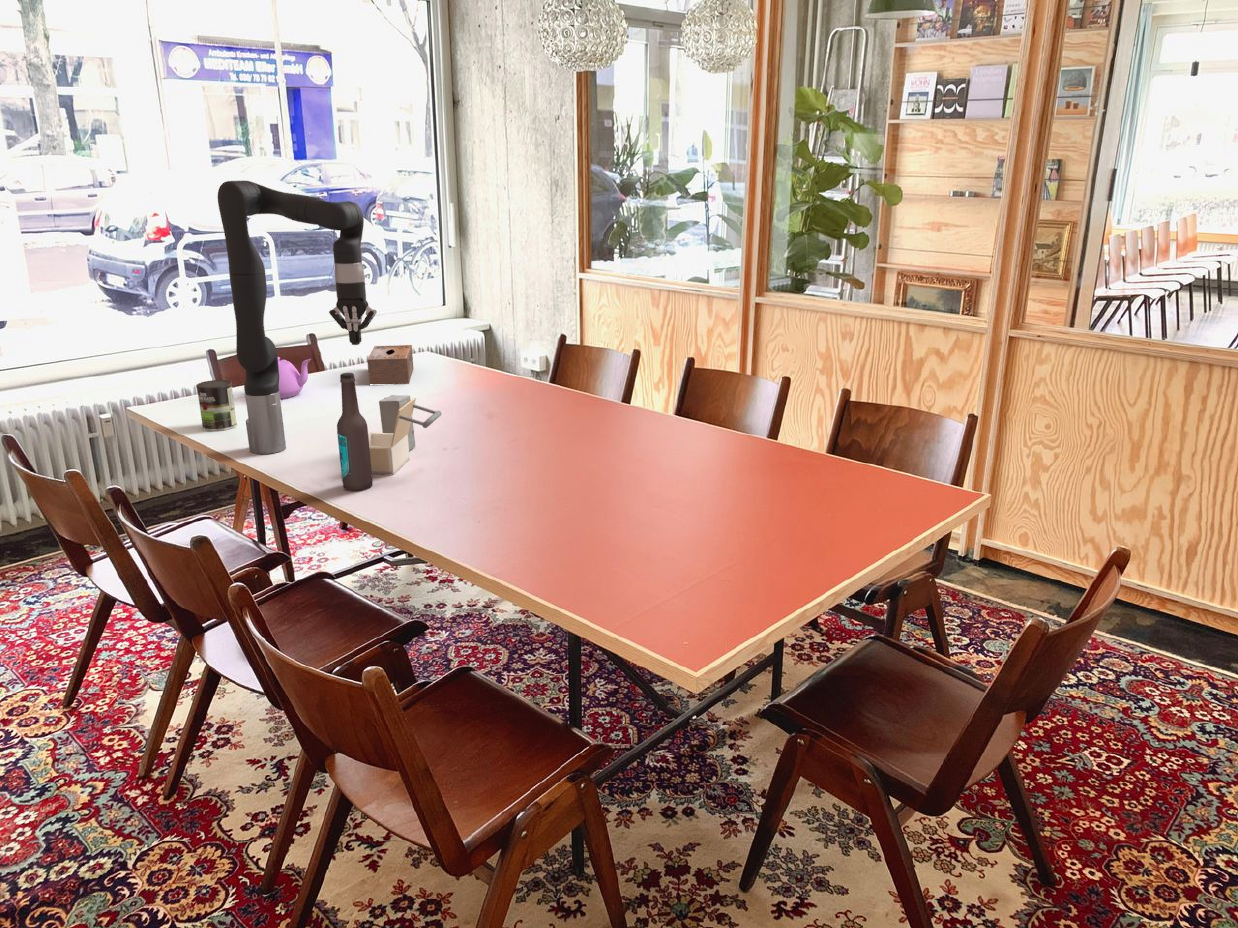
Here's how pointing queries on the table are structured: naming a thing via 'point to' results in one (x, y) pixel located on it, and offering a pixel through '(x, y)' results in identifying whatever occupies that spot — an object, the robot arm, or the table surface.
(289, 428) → the table surface
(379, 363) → the tissue box cover
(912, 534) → the table surface
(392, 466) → the carton
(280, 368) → the teapot
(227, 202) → the robot arm
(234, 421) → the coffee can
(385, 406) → the skincare box
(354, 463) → the beer bottle
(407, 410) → the flap
